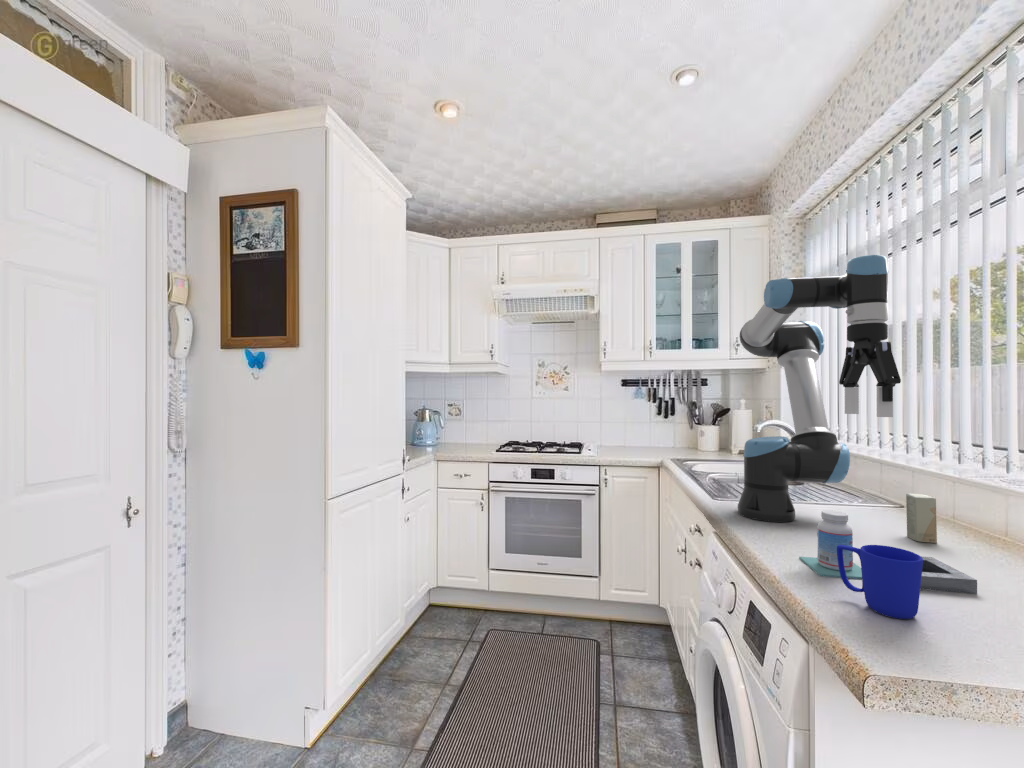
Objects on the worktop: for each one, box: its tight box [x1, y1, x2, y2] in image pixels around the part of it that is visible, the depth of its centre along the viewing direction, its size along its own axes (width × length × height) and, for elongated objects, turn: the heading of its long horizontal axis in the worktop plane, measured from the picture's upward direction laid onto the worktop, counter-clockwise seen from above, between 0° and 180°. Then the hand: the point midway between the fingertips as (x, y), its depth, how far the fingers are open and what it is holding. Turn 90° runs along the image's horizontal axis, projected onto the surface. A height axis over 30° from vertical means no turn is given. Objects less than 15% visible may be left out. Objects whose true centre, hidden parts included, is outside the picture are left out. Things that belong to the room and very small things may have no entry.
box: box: [905, 492, 938, 544], centre depth 117 cm, size 5×4×11 cm
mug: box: [837, 544, 923, 620], centre depth 80 cm, size 8×12×10 cm
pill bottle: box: [817, 509, 854, 571], centre depth 98 cm, size 6×6×11 cm
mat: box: [798, 556, 862, 580], centre depth 97 cm, size 10×10×1 cm
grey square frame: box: [920, 555, 978, 595], centre depth 93 cm, size 12×12×2 cm
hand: (867, 415), depth 107 cm, fingers open, 13 cm apart
